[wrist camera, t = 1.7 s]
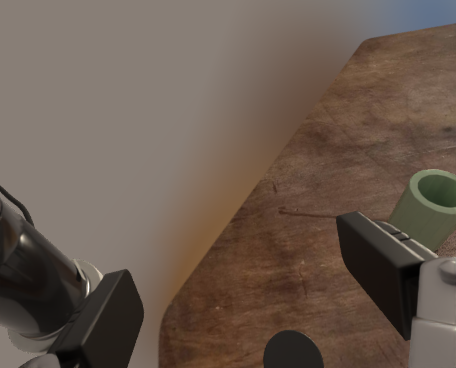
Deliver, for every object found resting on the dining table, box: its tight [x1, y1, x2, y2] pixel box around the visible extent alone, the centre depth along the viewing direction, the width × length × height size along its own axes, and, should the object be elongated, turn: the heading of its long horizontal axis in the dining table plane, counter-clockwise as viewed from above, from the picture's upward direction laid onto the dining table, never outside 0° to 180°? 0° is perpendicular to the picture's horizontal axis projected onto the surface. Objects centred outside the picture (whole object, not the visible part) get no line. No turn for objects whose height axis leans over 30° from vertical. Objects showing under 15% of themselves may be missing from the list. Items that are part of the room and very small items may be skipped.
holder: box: [387, 170, 456, 253], centre depth 33 cm, size 6×6×8 cm
